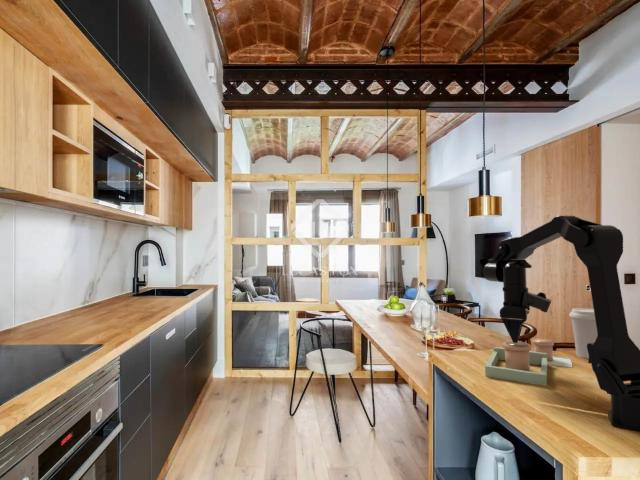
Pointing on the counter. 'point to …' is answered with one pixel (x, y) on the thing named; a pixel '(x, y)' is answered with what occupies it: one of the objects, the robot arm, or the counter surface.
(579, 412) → the counter surface
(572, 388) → the counter surface
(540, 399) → the counter surface
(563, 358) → the white square board
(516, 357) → the pot
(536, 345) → the pot
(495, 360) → the green shallow rectangular frame
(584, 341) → the coffee cup
